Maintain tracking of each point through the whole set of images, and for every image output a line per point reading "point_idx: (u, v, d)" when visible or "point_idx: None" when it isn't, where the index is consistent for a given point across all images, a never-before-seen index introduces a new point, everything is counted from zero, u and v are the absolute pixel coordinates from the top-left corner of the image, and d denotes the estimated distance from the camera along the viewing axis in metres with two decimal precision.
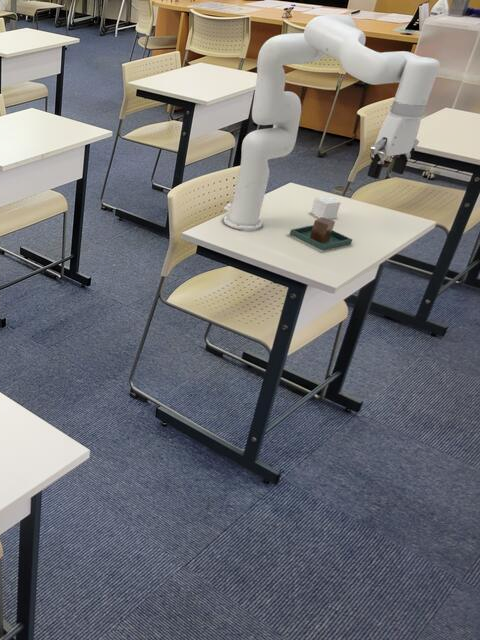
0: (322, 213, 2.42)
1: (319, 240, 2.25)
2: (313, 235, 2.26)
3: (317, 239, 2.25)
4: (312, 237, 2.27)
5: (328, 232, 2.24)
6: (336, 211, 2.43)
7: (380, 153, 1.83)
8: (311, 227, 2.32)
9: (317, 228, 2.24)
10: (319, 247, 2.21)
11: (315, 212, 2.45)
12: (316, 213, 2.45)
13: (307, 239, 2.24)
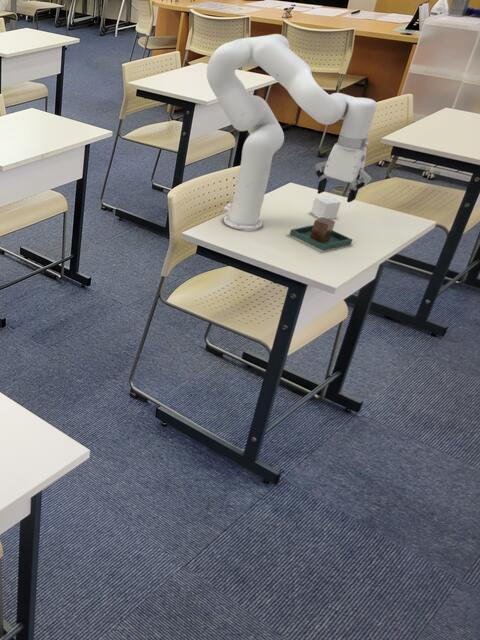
0: (322, 213, 2.42)
1: (319, 240, 2.25)
2: (313, 235, 2.26)
3: (317, 239, 2.25)
4: (312, 237, 2.27)
5: (328, 232, 2.24)
6: (336, 211, 2.43)
7: None
8: (311, 227, 2.32)
9: (317, 228, 2.24)
10: (319, 247, 2.21)
11: (315, 212, 2.45)
12: (316, 213, 2.45)
13: (307, 239, 2.24)
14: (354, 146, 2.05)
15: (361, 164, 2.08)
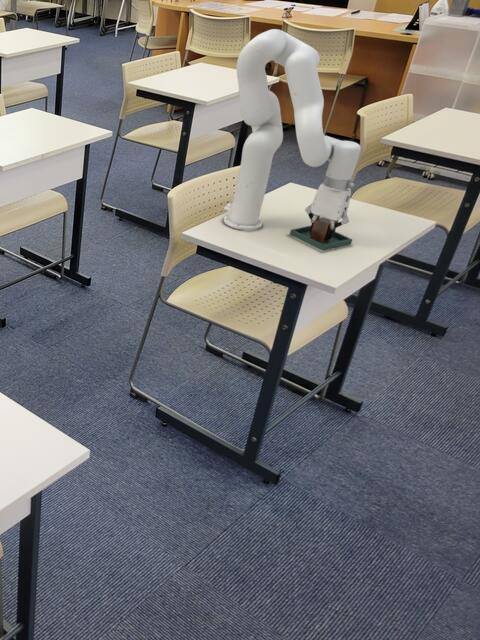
0: None
1: (319, 240, 2.25)
2: (313, 235, 2.26)
3: (317, 239, 2.25)
4: (312, 237, 2.27)
5: None
6: None
7: None
8: None
9: (317, 228, 2.24)
10: (319, 247, 2.21)
11: None
12: None
13: (307, 239, 2.24)
14: (339, 187, 2.14)
15: (346, 204, 2.17)
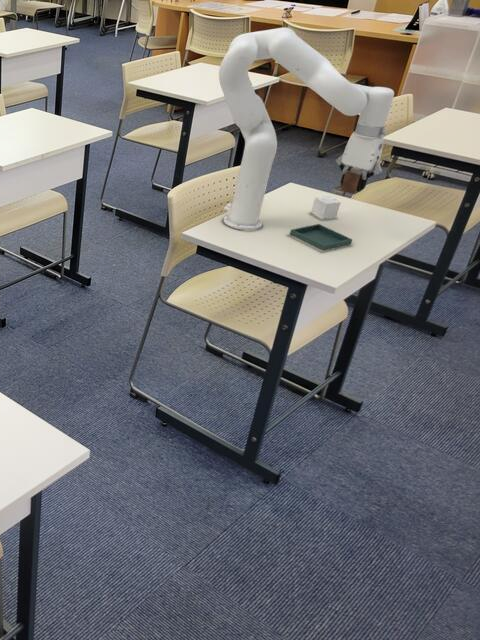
0: (322, 213, 2.42)
1: (350, 191, 2.21)
2: (344, 186, 2.22)
3: (348, 190, 2.21)
4: (343, 189, 2.22)
5: None
6: (336, 211, 2.43)
7: None
8: (311, 227, 2.32)
9: (348, 179, 2.20)
10: (319, 247, 2.21)
11: (315, 212, 2.45)
12: (316, 213, 2.45)
13: (307, 239, 2.24)
14: (372, 134, 2.10)
15: (378, 152, 2.12)
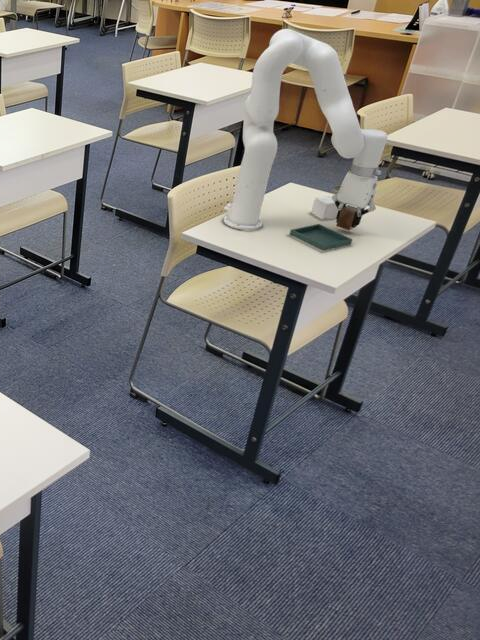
0: (322, 213, 2.42)
1: (346, 227, 2.30)
2: (339, 222, 2.31)
3: (344, 226, 2.30)
4: (339, 224, 2.31)
5: None
6: (336, 211, 2.43)
7: None
8: (311, 227, 2.32)
9: (343, 215, 2.29)
10: (319, 247, 2.21)
11: (315, 212, 2.45)
12: (316, 213, 2.45)
13: (307, 239, 2.24)
14: (366, 175, 2.19)
15: (372, 191, 2.21)
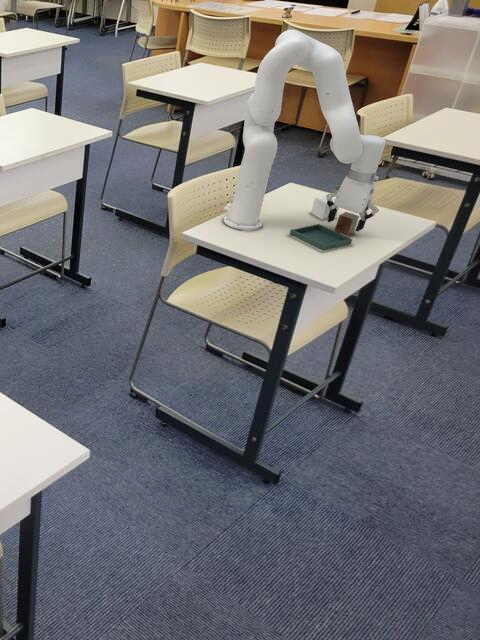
0: (322, 213, 2.42)
1: (343, 234, 2.31)
2: (337, 229, 2.32)
3: (341, 233, 2.32)
4: (336, 231, 2.33)
5: (352, 226, 2.30)
6: None
7: None
8: (311, 227, 2.32)
9: (341, 222, 2.30)
10: (319, 247, 2.21)
11: (315, 212, 2.45)
12: (316, 213, 2.45)
13: (307, 239, 2.24)
14: (364, 180, 2.20)
15: (370, 197, 2.22)
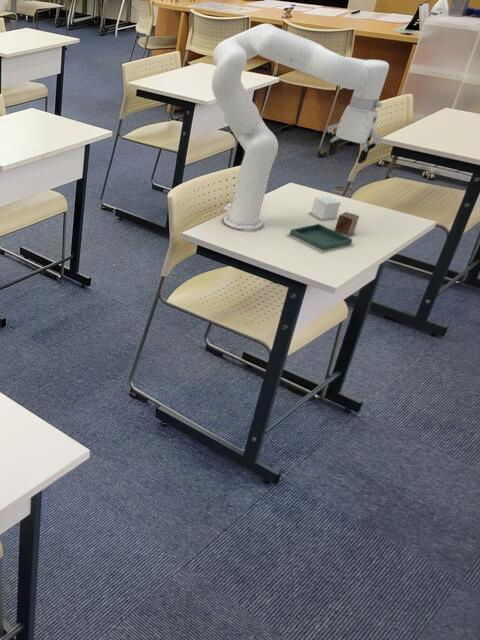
0: (322, 213, 2.42)
1: (343, 234, 2.31)
2: (337, 229, 2.32)
3: (341, 233, 2.32)
4: (336, 231, 2.33)
5: (352, 226, 2.30)
6: (336, 211, 2.43)
7: None
8: (311, 227, 2.32)
9: (341, 222, 2.30)
10: (319, 247, 2.21)
11: (315, 212, 2.45)
12: (316, 213, 2.45)
13: (307, 239, 2.24)
14: (366, 107, 2.11)
15: (372, 125, 2.14)
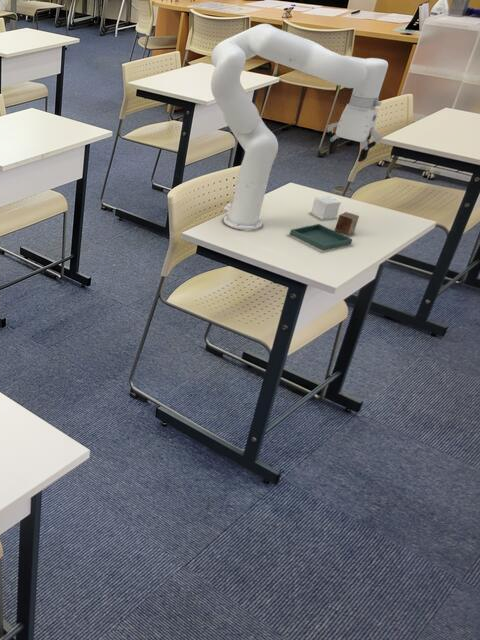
0: (322, 213, 2.42)
1: (343, 234, 2.31)
2: (337, 229, 2.32)
3: (341, 233, 2.32)
4: (336, 231, 2.33)
5: (352, 226, 2.30)
6: (336, 211, 2.43)
7: None
8: (311, 227, 2.32)
9: (341, 222, 2.30)
10: (319, 247, 2.21)
11: (315, 212, 2.45)
12: (316, 213, 2.45)
13: (307, 239, 2.24)
14: (366, 106, 2.11)
15: (372, 124, 2.14)
